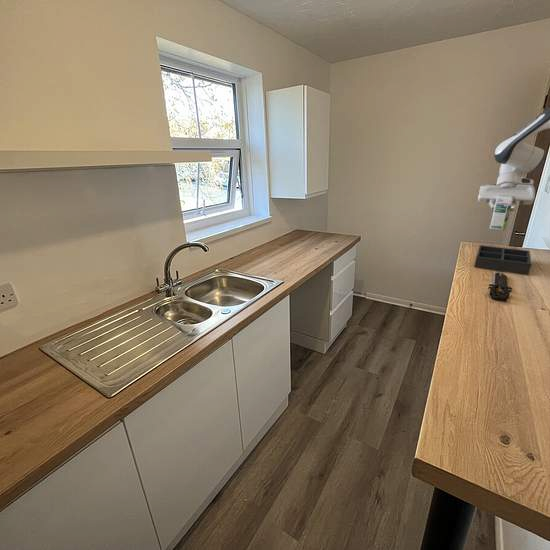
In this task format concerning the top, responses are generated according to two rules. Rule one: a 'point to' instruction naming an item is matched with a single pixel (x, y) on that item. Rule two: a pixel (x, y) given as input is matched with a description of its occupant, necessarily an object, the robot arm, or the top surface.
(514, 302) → the top surface
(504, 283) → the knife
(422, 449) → the top surface
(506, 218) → the syrup box
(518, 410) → the top surface
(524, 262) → the tray
